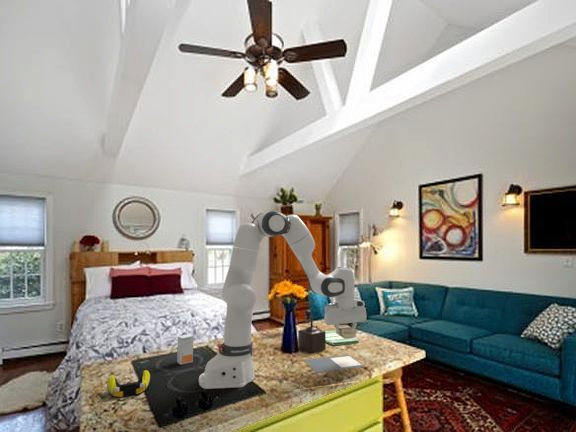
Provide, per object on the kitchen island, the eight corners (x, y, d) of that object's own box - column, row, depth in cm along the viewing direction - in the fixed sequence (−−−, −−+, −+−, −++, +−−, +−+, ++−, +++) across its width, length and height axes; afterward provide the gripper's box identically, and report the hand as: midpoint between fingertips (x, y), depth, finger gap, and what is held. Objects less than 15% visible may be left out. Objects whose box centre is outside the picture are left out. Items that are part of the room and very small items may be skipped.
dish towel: (338, 332, 212) (338, 327, 212) (360, 343, 191) (360, 338, 191) (312, 335, 206) (312, 330, 206) (331, 347, 184) (331, 342, 184)
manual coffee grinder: (327, 350, 178) (327, 314, 179) (310, 354, 172) (309, 317, 173) (308, 342, 191) (308, 308, 192) (292, 345, 185) (292, 311, 186)
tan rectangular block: (355, 337, 158) (355, 329, 158) (344, 338, 156) (344, 330, 156) (346, 332, 166) (346, 324, 167) (336, 333, 165) (336, 325, 165)
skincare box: (180, 365, 158) (181, 338, 158) (176, 362, 161) (177, 336, 162) (193, 362, 161) (193, 335, 162) (189, 359, 165) (189, 333, 165)
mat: (316, 374, 148) (316, 372, 148) (303, 361, 163) (303, 359, 163) (365, 367, 155) (365, 366, 155) (348, 355, 170) (348, 354, 170)
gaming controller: (106, 390, 133) (106, 401, 124) (107, 375, 133) (106, 385, 124) (149, 382, 139) (151, 392, 130) (149, 368, 140) (151, 377, 131)
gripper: (327, 305, 156) (327, 337, 155) (367, 302, 162) (368, 332, 161) (321, 302, 162) (322, 333, 161) (361, 299, 168) (361, 329, 167)
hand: (345, 332), depth 161 cm, fingers closed on tan rectangular block, 5 cm apart
